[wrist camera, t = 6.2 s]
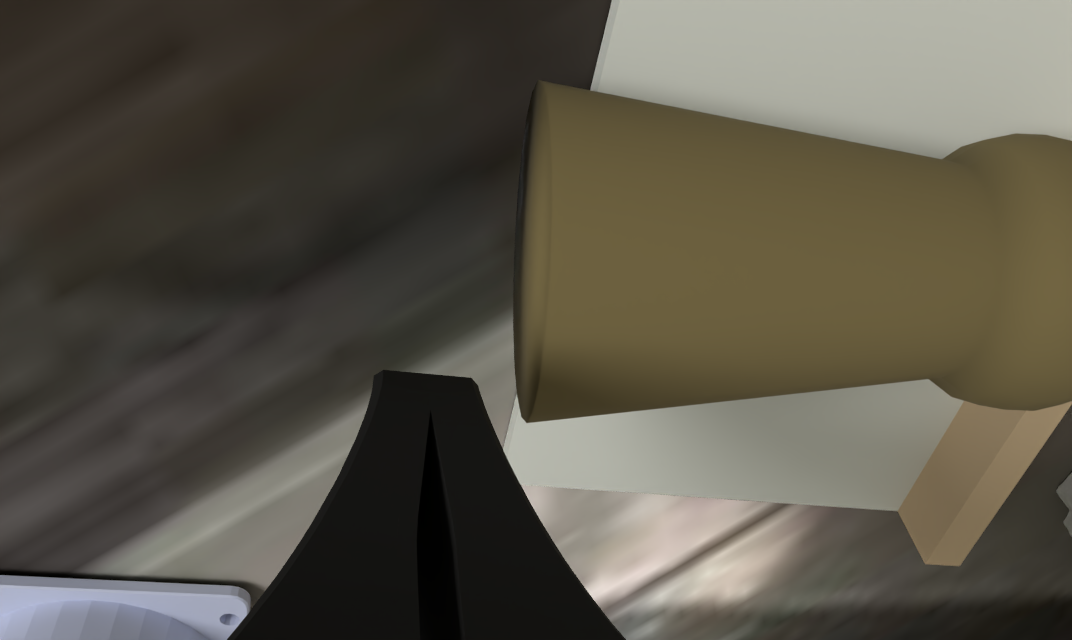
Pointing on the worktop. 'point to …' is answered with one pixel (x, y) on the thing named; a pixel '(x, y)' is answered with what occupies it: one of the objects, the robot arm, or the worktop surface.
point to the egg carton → (1067, 500)
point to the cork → (780, 262)
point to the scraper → (858, 116)
